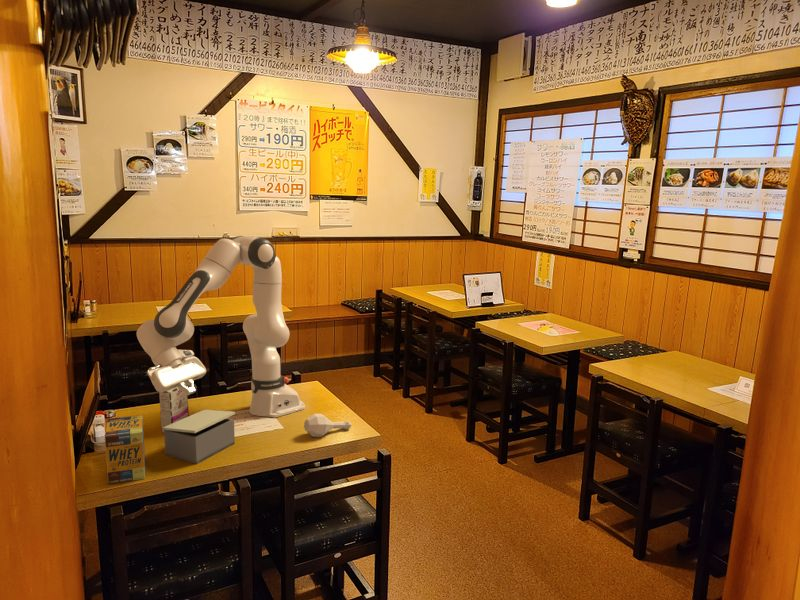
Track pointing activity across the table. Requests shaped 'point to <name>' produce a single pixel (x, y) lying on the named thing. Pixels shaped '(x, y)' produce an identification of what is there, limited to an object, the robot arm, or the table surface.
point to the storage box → (200, 442)
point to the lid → (199, 421)
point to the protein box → (125, 449)
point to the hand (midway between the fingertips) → (192, 393)
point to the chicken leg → (322, 425)
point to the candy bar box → (173, 406)
